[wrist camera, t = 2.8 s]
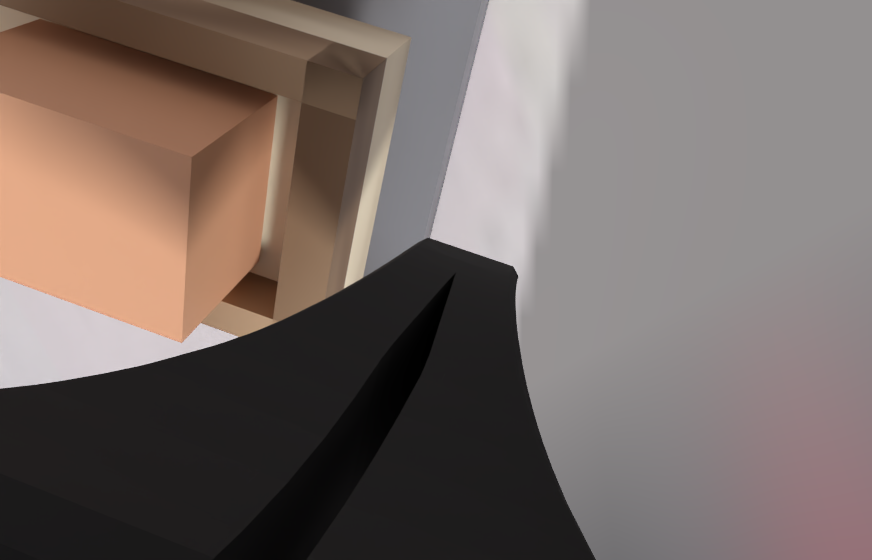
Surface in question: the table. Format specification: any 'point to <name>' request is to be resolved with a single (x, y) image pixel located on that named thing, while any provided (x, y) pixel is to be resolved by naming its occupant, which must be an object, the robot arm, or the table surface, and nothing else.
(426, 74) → the balance beam
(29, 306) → the table surface
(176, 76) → the block
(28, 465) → the robot arm
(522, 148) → the table surface
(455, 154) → the table surface
